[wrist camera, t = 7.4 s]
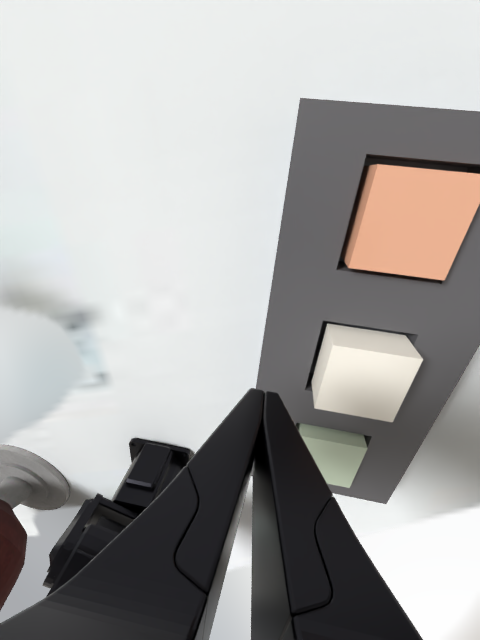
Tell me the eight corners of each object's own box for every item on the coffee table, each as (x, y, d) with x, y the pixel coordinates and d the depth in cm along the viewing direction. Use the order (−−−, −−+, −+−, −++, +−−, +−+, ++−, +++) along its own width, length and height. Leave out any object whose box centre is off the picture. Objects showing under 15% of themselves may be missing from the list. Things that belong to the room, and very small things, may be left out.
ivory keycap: (380, 393, 19) (392, 422, 17) (311, 381, 19) (314, 408, 17) (405, 335, 17) (423, 359, 14) (327, 323, 17) (333, 345, 15)
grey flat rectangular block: (374, 465, 26) (386, 504, 23) (248, 440, 27) (242, 474, 24) (539, 133, 14) (610, 121, 11) (297, 114, 15) (300, 98, 12)
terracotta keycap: (422, 266, 16) (444, 280, 14) (340, 255, 16) (348, 267, 14) (459, 175, 14) (492, 175, 12) (363, 166, 14) (377, 164, 12)
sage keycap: (343, 459, 24) (349, 488, 22) (289, 448, 24) (290, 475, 22) (359, 421, 22) (367, 448, 19) (300, 410, 22) (301, 436, 20)
